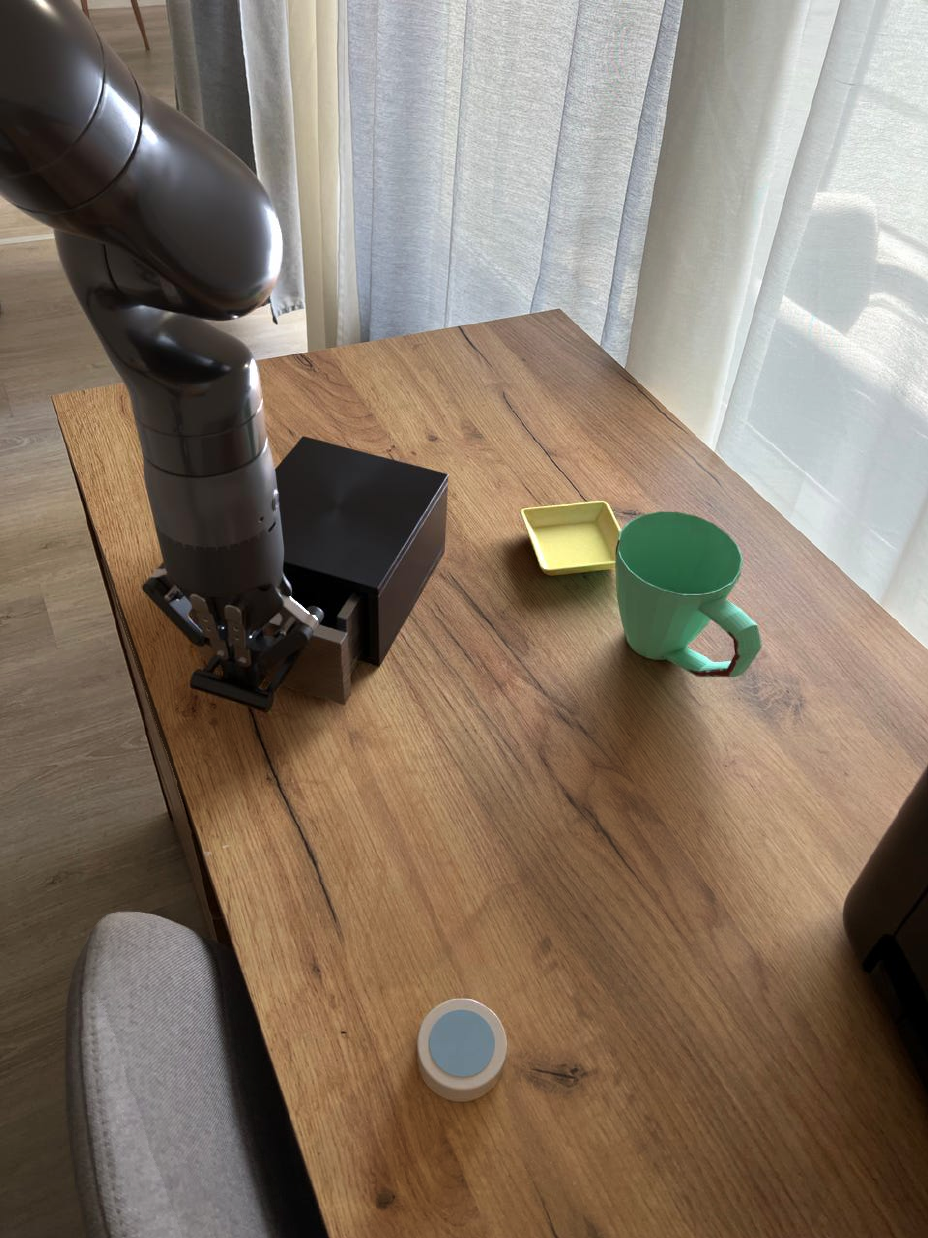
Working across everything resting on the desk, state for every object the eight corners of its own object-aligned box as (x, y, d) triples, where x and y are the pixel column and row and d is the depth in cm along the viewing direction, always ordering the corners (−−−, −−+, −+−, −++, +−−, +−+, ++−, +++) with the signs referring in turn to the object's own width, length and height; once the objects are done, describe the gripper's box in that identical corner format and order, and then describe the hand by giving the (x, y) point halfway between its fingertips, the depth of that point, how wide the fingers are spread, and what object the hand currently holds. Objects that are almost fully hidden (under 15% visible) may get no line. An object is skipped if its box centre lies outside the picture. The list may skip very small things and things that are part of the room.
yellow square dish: (539, 587, 85) (541, 570, 83) (516, 524, 91) (518, 507, 89) (631, 577, 86) (635, 560, 85) (603, 516, 92) (606, 499, 91)
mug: (574, 619, 82) (591, 531, 75) (664, 585, 86) (689, 497, 79) (679, 742, 74) (710, 656, 67) (775, 698, 77) (814, 612, 70)
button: (464, 1122, 54) (466, 1110, 53) (398, 1058, 56) (398, 1045, 55) (521, 1052, 57) (525, 1039, 56) (456, 994, 59) (458, 980, 58)
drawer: (311, 763, 70) (305, 702, 64) (160, 712, 72) (143, 649, 67) (412, 588, 83) (413, 526, 78) (282, 550, 85) (275, 487, 80)
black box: (379, 667, 77) (378, 588, 71) (228, 620, 80) (214, 541, 74) (444, 551, 88) (448, 473, 81) (309, 513, 90) (302, 435, 84)
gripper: (83, 510, 57) (139, 696, 69) (285, 570, 54) (305, 752, 66) (153, 442, 62) (194, 627, 74) (341, 493, 59) (350, 676, 71)
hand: (247, 686), depth 70 cm, fingers closed
